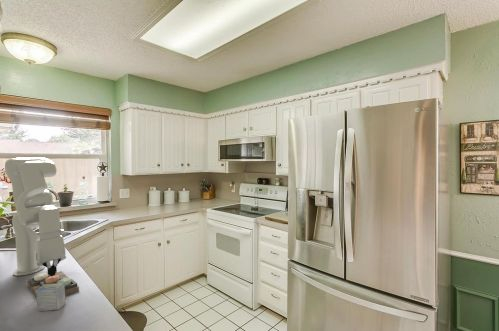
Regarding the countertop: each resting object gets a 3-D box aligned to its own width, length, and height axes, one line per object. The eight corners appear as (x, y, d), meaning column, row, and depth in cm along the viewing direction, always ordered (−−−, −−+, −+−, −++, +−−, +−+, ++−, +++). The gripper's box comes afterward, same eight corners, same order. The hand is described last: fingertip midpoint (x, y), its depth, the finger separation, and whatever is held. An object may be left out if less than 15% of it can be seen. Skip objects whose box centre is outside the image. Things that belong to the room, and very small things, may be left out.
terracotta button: (44, 282, 114) (43, 278, 114) (57, 278, 118) (57, 274, 118) (46, 286, 111) (46, 281, 111) (60, 281, 115) (60, 277, 115)
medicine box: (66, 304, 102) (65, 282, 101) (58, 310, 97) (56, 288, 97) (45, 305, 101) (44, 283, 101) (36, 311, 97) (35, 289, 97)
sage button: (55, 285, 111) (55, 281, 111) (69, 281, 115) (69, 276, 115) (59, 289, 108) (58, 284, 108) (72, 284, 112) (72, 280, 112)
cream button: (33, 279, 118) (32, 275, 118) (46, 275, 122) (46, 271, 121) (35, 282, 114) (35, 278, 114) (49, 278, 118) (49, 274, 118)
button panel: (27, 285, 118) (27, 278, 118) (61, 275, 128) (61, 268, 128) (41, 304, 102) (41, 296, 102) (79, 291, 112) (78, 283, 112)
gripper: (67, 229, 122) (69, 267, 123) (26, 238, 111) (29, 279, 111) (72, 232, 118) (74, 271, 118) (30, 240, 106) (32, 284, 106)
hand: (52, 275), depth 115 cm, fingers closed
